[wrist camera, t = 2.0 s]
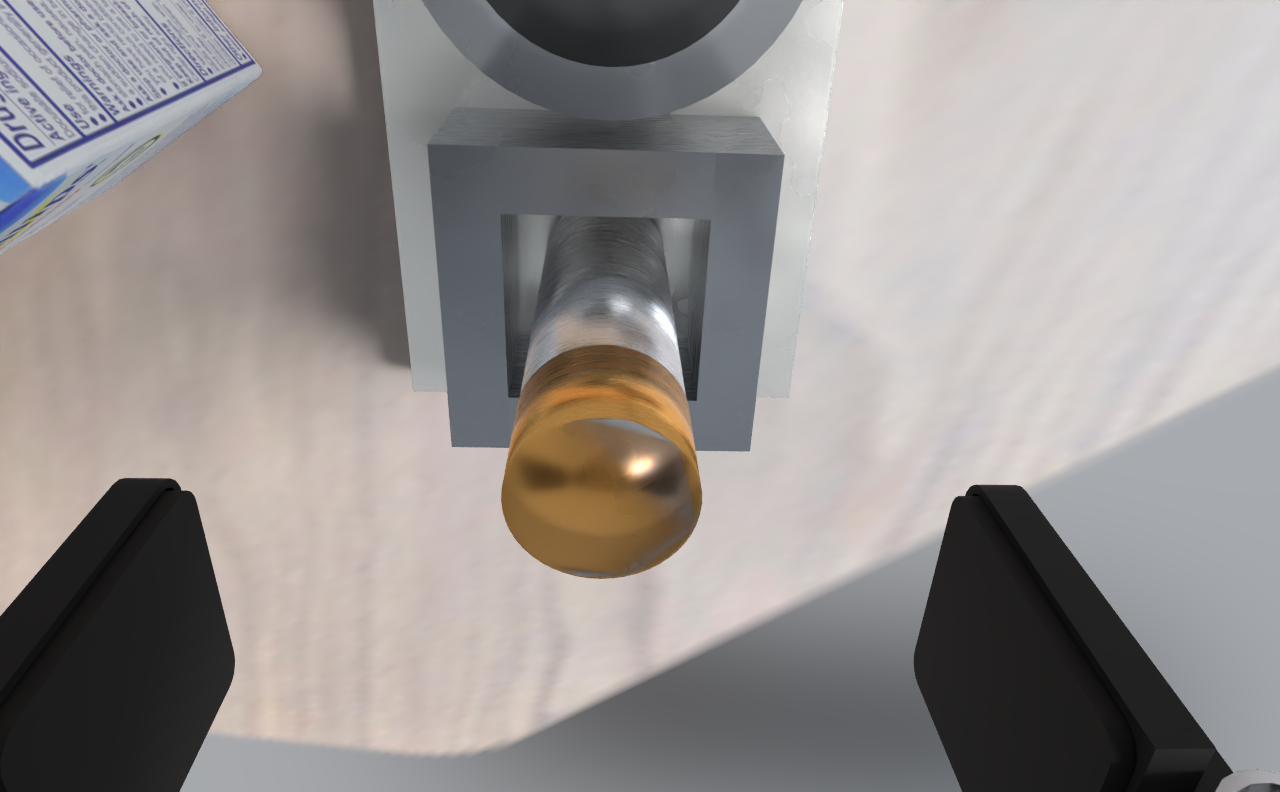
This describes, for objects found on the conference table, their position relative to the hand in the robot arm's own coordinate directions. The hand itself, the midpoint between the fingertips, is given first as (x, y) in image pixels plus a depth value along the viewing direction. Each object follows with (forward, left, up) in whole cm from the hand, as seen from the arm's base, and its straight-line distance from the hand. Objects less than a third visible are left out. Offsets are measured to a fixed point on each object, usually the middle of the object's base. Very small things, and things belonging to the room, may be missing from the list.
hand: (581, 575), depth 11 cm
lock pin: (-1, 0, -10) cm, 10 cm away
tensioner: (-4, 0, -11) cm, 12 cm away
